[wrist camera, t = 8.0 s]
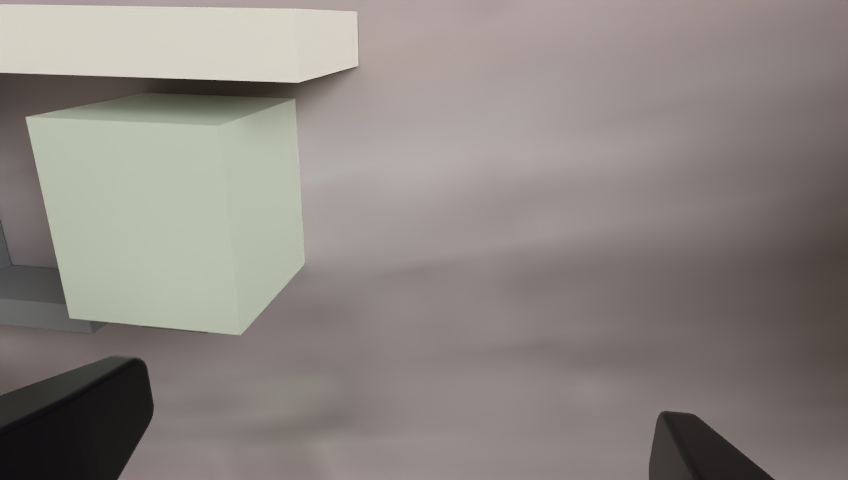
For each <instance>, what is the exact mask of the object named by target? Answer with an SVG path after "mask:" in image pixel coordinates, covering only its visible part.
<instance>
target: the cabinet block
mask: <svg viewBox="0 0 848 480" xmlns="http://www.w3.org/2000/svg"><path fill="white" fill-rule="evenodd" d="M26 122H27V126H28V131H29V135H30V140H31V145H32V149H33V154H34V158H35V163H36V167H37V172H38V176H39V181H40V186H41V190H42V195H43V199H44V204H45V208H46V213H47V217H48V222H49V227H50V231H51V236H52V240H53V245H54V249H55V254H56V258H57V263H58V268H59V272H60V277H61V281H62V286H63V290H64V295H65V299H66V304H67V309H68V313H69V318H72V319H82V320H92V321H102V322H112V323H122V324H132V325H142V327H150V328H160V329H170V330H180V331H190V332H200V333H208V332H213V333H223V334H233V335H241V334H242V333H243V332H244V331H245V330H246V329H247V328H248V327H249V326H250V324H251V323H252V322H253V321H254V320H255V319H256V318H257V317H258V316H259V314H260V313H261V312H262V311H263V310H264V309H265V308H266V307H267V305H268V304H269V303H270V302H271V301H272V300H273V299H274V298H275V297H276V295H277V294H278V293H279V292H280V291H281V290H282V289H283V288H284V286H285V285H286V284H287V283H288V282H289V281H290V280H291V279H292V278H293V276H294V275H295V274H296V273H297V272H298V271H299V270H300V269H301V268H302V266H303V265H304V264H305V258H304V241H303V224H302V207H301V190H300V173H299V156H298V139H297V122H296V104H295V99H290V98H264V97H239V96H213V95H187V94H161V93H142V94H137V95H132V96H127V97H122V98H117V99H113V100H108V101H103V102H98V103H93V104H88V105H83V106H78V107H73V108H68V109H63V110H58V111H53V112H48V113H43V114H38V115H33V116H28V117H26Z"/></svg>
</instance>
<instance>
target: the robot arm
mask: <svg viewBox="0 0 848 480" xmlns="http://www.w3.org/2000/svg"><path fill="white" fill-rule="evenodd" d="M153 409H154V404H153V398H152V392H151V387H150V381H149V376H148V370H147V366H146V364H145V362H144V361H143V360H142V359H140V358H138V357H129V356H119V355H116V356H110V357H108V358H105V359H102V360H99V361H96V362H94V363H91V364H88V365H85V366H82V367H79V368H77V369H74V370H71V371H68V372H65V373H63V374H60V375H57V376H54V377H51V378H48V379H46V380H43V381H40V382H37V383H34V384H32V385H29V386H26V387H23V388H20V389H18V390H15V391H12V392H9V393H6V394H3V395H1V396H0V480H118V478H119V476H120V475H121V473H122V471H123V469H124V468H125V466H126V464H127V462H128V461H129V459H130V457H131V455H132V454H133V452H134V450H135V448H136V447H137V445H138V443H139V441H140V440H141V438H142V436H143V434H144V433H145V431H146V429H147V427H148V426H149V424H150V421H151V419H152V416H153ZM649 480H775V479H773V478H772V477H771V476H770V475H768V474H767V473H766V472H765V471H764V470H762V469H761V468H760V467H759V466H757V465H756V464H755V463H754V462H752V461H751V460H750V459H749V458H748V457H746V456H745V455H744V454H743V453H741V452H740V451H739V450H738V449H737V448H735V447H734V446H733V445H732V444H730V443H729V442H728V441H727V440H726V439H724V438H723V437H722V436H721V435H719V434H718V433H717V432H716V431H714V430H713V429H712V428H711V427H710V426H708V425H707V424H706V423H705V422H703V421H702V420H701V419H700V418H699V417H697V416H696V415H694V414H690V413H681V412H670V411H663V412H661V413H660V414H659V416H658V418H657V422H656V428H655V434H654V439H653V445H652V451H651V456H650V462H649Z"/></svg>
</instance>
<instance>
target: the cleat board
mask: <svg viewBox="0 0 848 480" xmlns="http://www.w3.org/2000/svg"><path fill="white" fill-rule="evenodd" d="M357 66H358V24H357V12H355V11H333V10H310V9H274V8H208V7H143V6H77V5H11V4H0V73H26V74H55V75H85V76H114V77H144V78H173V79H203V80H232V81H261V82H291V83H299V82H303V81H306V80H310V79H313V78H317V77H321V76H324V75H328V74H331V73H335V72H339V71H342V70H346V69H349V68H353V67H357ZM107 323H108V322H102V321H92V320H82V319H72V318H69V313H68V309H67V304H66V299H65V295H64V290H63V286H62V281H61V277H60V272H59V269H53V268H41V267H30V266H18V265H11V263H10V259H9V255H8V250H7V246H6V242H5V238H4V234H3V230H2V226H1V222H0V325H10V326H19V327H29V328H39V329H48V330H58V331H68V332H77V333H87V334H93V333H94V332H96V331H97V330H98V329H100V328H101V327H103V326H104V325H105V324H107Z"/></svg>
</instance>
